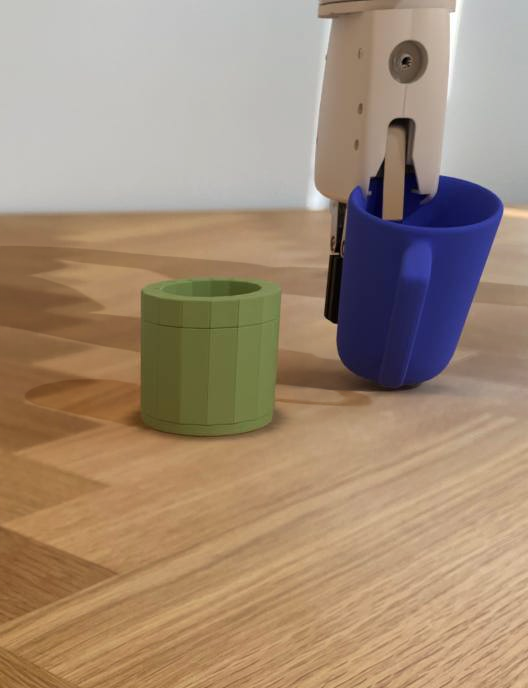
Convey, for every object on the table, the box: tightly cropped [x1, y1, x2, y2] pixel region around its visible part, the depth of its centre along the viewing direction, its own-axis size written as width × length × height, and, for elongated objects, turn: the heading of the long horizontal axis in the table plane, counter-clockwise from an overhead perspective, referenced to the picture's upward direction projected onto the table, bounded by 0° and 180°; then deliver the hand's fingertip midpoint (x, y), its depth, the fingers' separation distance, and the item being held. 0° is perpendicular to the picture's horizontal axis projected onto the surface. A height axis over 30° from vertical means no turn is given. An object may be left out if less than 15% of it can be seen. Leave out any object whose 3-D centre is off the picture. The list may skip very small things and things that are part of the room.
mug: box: [335, 173, 505, 389], centre depth 60 cm, size 8×12×10 cm
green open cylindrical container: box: [139, 276, 283, 437], centre depth 57 cm, size 7×7×7 cm
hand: (351, 320), depth 67 cm, fingers closed
